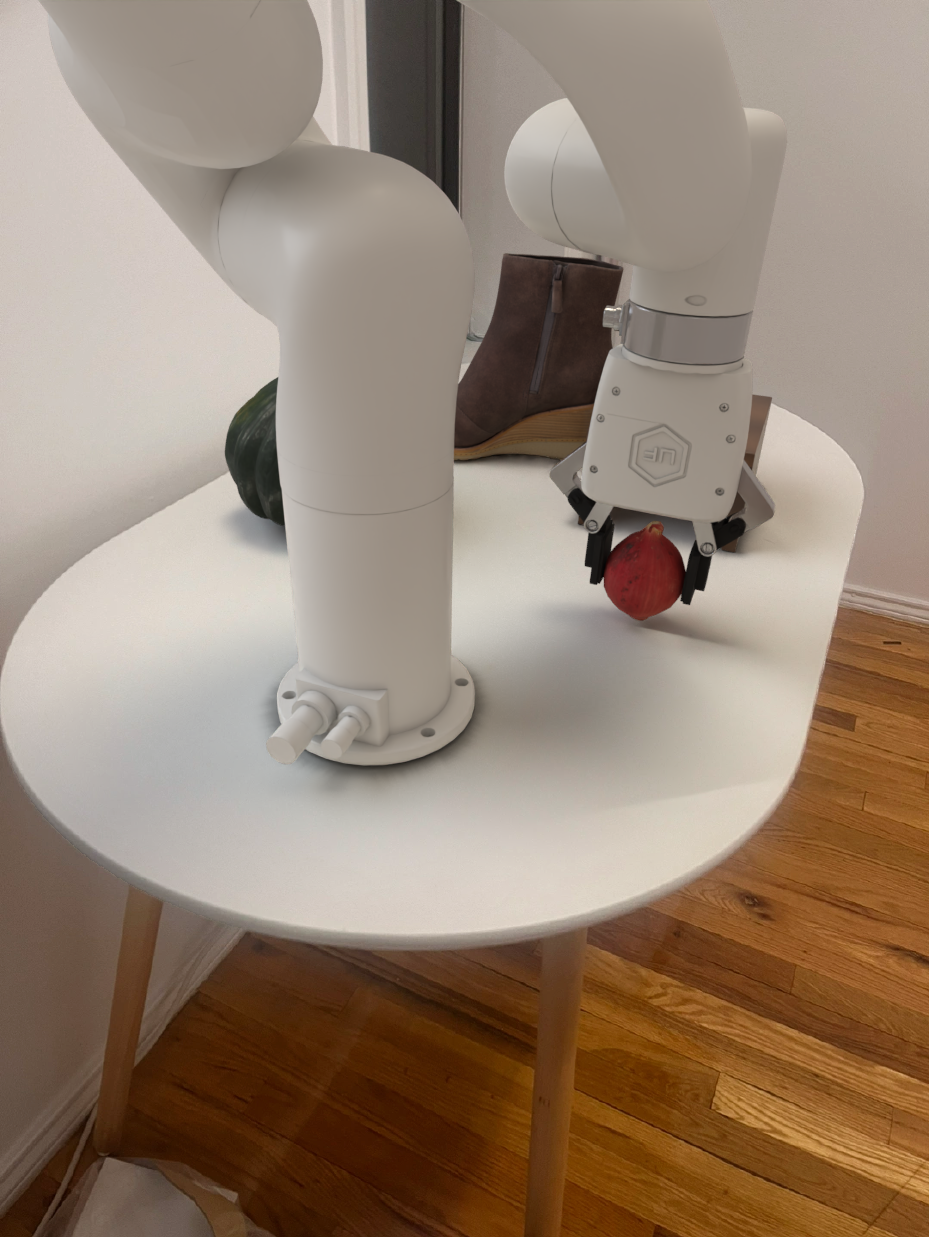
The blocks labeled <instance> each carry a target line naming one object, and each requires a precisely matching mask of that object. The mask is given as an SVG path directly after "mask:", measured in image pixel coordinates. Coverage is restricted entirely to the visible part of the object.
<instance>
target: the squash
mask: <svg viewBox="0 0 929 1237" xmlns="http://www.w3.org/2000/svg"><path fill="white" fill-rule="evenodd" d="M277 386H278V376H277V377H276V378H274V379H272V380H270V381H269V382H268V383H267V384H265V385H264V386H262V388H260V389H259V390H258V391H257V392H256V393H255V395H253V396H252V397H250V398H249V399H248V400H247V401H246V402H245V403H244V404H243V405H242V406H241V407H240V408H239V409H238V410H237V411H236V413H234V415H233V418H232V419H231V421H230V423H229V425H228V429H227V433H226V438H225V444H224V458H225V463H226V465H227V468H228V471H229V474H230V476H231V478H232V481H233V482H234V484H235V485H236V488H237V493H238V495H239V497H240V499H241V501H242V502H243V504H244V506H246V508H247V509H248V510H249V511H250V512H251V513H252V514H253V515H255V516H256V517H259V518H260V519H264V520H271V521H272V522H274V523H275V524H276V525H278V526H282V527H285V518H284V508H283V498H282V488H281V485H280V477H279V467H278V456H277V442H276V399H277Z"/></svg>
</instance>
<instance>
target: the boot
mask: <svg viewBox="0 0 929 1237" xmlns="http://www.w3.org/2000/svg"><path fill="white" fill-rule="evenodd" d="M624 270H625V269H624V266H622V265H618V264H613V263H610V262H607V261H604V260H598V259H593V258H588V257H574V256H561V255H543V254H542V255H541V254H531V253H530V254H529V253H509V252H505V253H503V255H502V259H501V267H500V274H499V282H498V288H497V293H496V294H497V295H496V298H495V299H496V300H495V303H494V304H495V305H494V309H493V312H492V317H491V320H490V323H489V324H488V327H487V330H486V332H485V333H484V336H483V338H482V341H481V342H480V345H479V346H478V348H477V350H476V352H475V354H474V356H473V357H472V359H471V361H470V363H469V365H468V366H467V368H466V370H465V372H464V374H463V375H462V378H461V380H459V382H458V391H457V399H456V414H455V432H454V461H459V460H460V461H468V460H477V459H480V458H486V457H491V456H494V455H507V454H511V455H512V454H514V455H517V454H518V455H529V456H539V457H547V458H548V459H550V460H551V459H553V460H556V459H558V460H559V461H561V460H562V459H563V458H565V457H566V456H567V455H569V454H570V453H571V452H573V451H574V450H575V449H576V448H578V447H579V446H580V445H582V444H583V443H584V442H586V435H587V429H588V428H589V426H590V422H591V417H592V412H593V408H594V403H595V399H596V394H597V390H598V386H599V382H600V379H601V375H602V371H603V368H604V365H605V362H606V359H607V356H608V353H609V351H610V350H611V349H613V348H614V347H613V341H612V329H613V328H608V327H603V315H604V311H605V308H606V306H607V305H608V306H616V302H617V298H618V293H619V289H620V285H621V282H622V278H623V274H624Z"/></svg>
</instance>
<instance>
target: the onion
mask: <svg viewBox="0 0 929 1237" xmlns="http://www.w3.org/2000/svg"><path fill="white" fill-rule="evenodd" d="M664 529H665V526H664V525H663V522H662V521H661V520H660V521H658V520H652V521H650V522H649V523H648V524H647V525H646V526H644V527H643V528H642V529H639V530H637V531H635V532H631V533H630V534H629V535H628V536H626V537H625V538H623V539H622V540H621V541H620V542H618V543H617V544H616V545H615V546H614V547H613V548H611V552H610V554H609V556H608V558H607V561H606V565H605V569H604V577H603V588H604V591H605V593H606V596H607V597H608V599H609V600H610V601H611V603H612V604H613V605H614V606H615V607H616V608H617V609H618V610H619V611H621V612H622V613H624V614H625V615H627V616H628V617H630V618H632V620H635V621H638V622H641V621H642V622H643V621H646V620H648V619H649V618H650V617H651V618H652V617H653V616H657V615H658V614H661V613H663V612H666V611H667V610H669V609H671V608H672V607H673V606H674V605H675V603H676V602H677V601H678V600H679V598H681V594H682V589H683V584H684V579H685V574H686V567H685V562H684V559H683V556H682V554H681V551H680V550H679V549H678V547H677V546H676V545H675V544H674V543H673V542H672V541H671V540H670V539H669V538H668V537H667V536H666V535H664V534H663V532H664Z"/></svg>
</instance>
